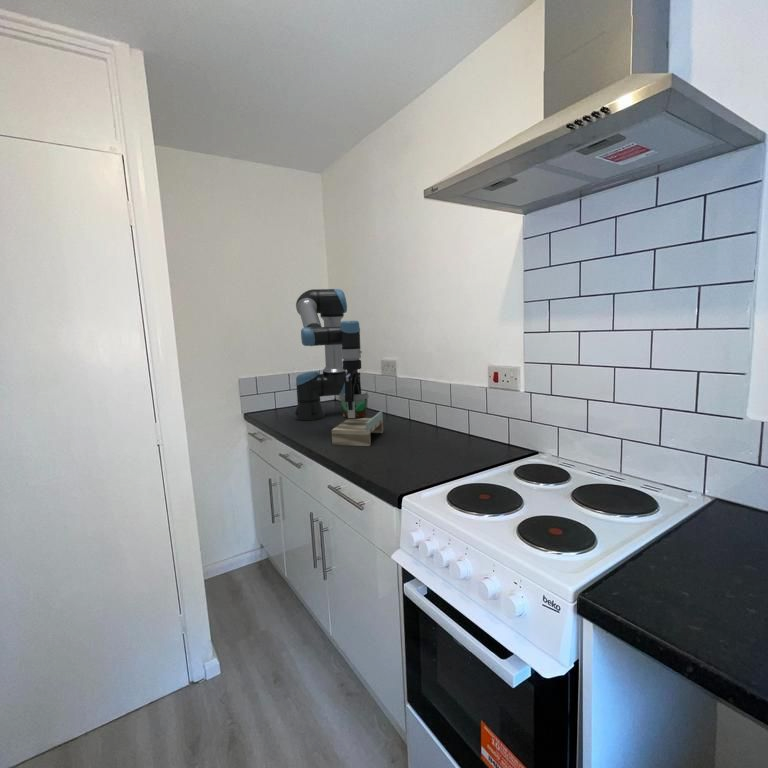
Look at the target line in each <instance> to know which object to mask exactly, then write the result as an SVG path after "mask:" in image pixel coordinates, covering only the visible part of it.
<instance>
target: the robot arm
mask: <svg viewBox="0 0 768 768" xmlns="http://www.w3.org/2000/svg"><path fill="white" fill-rule="evenodd" d="M345 294H346V293H344V291H343V290H342V289H339V288H325V289H324V288H320V289H318V288H317V289H309V290H306V291H304V292H303V293H301V294H300V295H299V297H297V299H296V303H295V308H296V311H297V313H298V314H299V316H300V319H301V324H302V327H303V328H301V329H300V339H301V344H302V345H303V347H315V346H316V347H318V346H324V357H325V359H324V360H325V361H324V362H325V366H324V368H323V369H322V373H320V372H319V371H318V370H317V371H316V370H315V371H309V372H304V373H301V374H298V375H297V376H296V378H295V380H296V381H295V382H296V383H295V386H296V401H297V404H296V408H295V412H294V419H295V420H298V421H314V420H321V419H322V418H325V417H326V416H325V410H324V408H323V405H322V403H321V397H329V396H338V397H339V395H340V394H342V395H345V402H347V405H348V418H355V404H354V402H353V399H354V394H358V395H359V394H362V386H361V372H358V370H361V369H362V360H361V357H362V355H361V354H362V353H363V352H362V350H361V331H360V330H361V328H360V322H359V320H342V319H343V318H344V316H345V313H347V312H348V311H347V310H348V305H347V299H346V295H345ZM318 314H319V315H320V316H319V315H318ZM320 318H321V319H322V320H323V326H322V322H321V321H320Z"/></svg>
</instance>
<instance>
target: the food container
mask: <svg viewBox="0 0 768 768" xmlns="http://www.w3.org/2000/svg"><path fill="white" fill-rule="evenodd" d="M369 396H370V395H369V393H368V392H366V393H361V394H359V395H358V394H354V399H353V402H354V404H355V418H348V405H347V402H345V394H343V395H342V394H340V395H338V399H339V400H340V404H341V408H342V409H341V410H342V416H343V419H345V420H347V419H361V418H367V408H368V405H367V404H368V399H369V398H370V397H369Z"/></svg>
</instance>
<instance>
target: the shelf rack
mask: <svg viewBox="0 0 768 768" xmlns="http://www.w3.org/2000/svg"><path fill="white" fill-rule="evenodd" d="M383 419H384V416H383V411H381V410H380V411H379V412H377V413H376V414H374V416H372V417H364V418H361V419H345V420H344V421H342V422H341V423H340V424H338V425H336V426H335V427H334V428H333V429H331V445H332V446H349V447H350V446H353V447H370V446H371V445H372V443H371V434H383V433H384V420H383Z"/></svg>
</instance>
